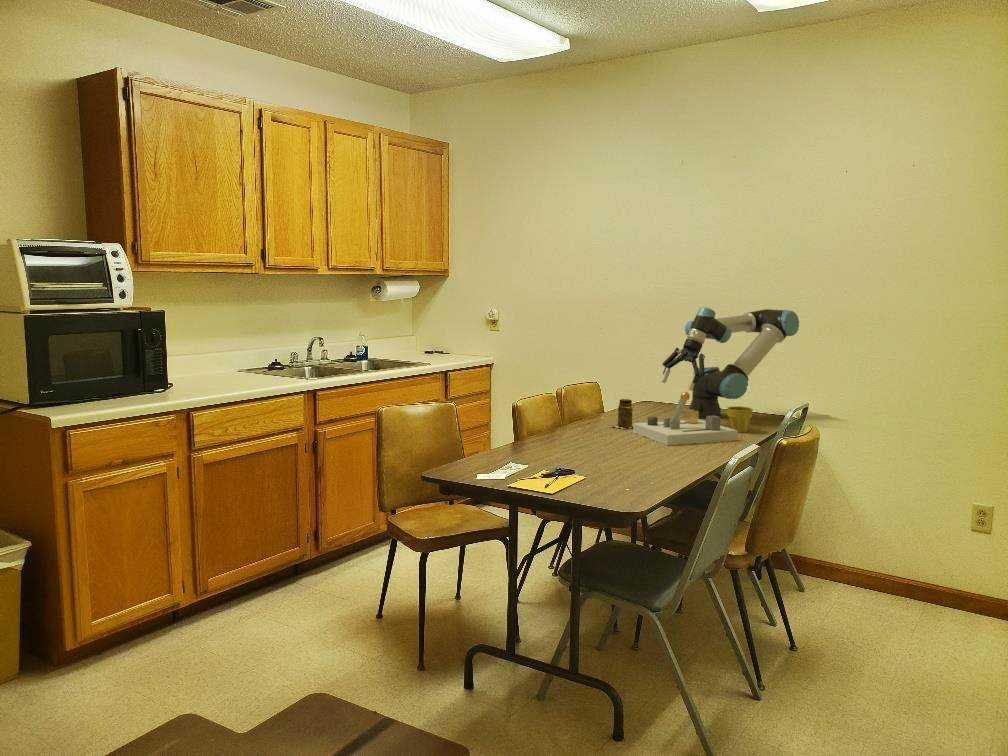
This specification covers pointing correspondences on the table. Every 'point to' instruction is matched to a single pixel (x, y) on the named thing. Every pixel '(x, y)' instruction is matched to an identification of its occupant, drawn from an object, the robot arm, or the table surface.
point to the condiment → (625, 413)
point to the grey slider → (713, 422)
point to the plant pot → (739, 417)
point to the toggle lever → (680, 406)
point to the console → (682, 432)
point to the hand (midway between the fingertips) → (676, 386)
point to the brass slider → (691, 416)
